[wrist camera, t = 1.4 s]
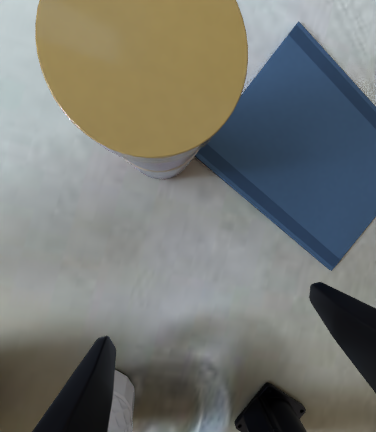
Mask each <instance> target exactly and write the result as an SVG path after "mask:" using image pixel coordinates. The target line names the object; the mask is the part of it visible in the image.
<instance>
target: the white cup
mask: <svg viewBox="0 0 376 432" xmlns="http://www.w3.org/2000/svg"><path fill="white" fill-rule="evenodd" d="M134 402H135V396H134V386H133V385H132V383H131V381H130V380H129V378H128V377H127V376H126V375H124V374H122V373H120V372H119V371H117V370H115V374H114V389H113V399H112V406H111V412H110V419H109V425H108V432H132V428H133V420H132V418H133V410H134Z"/></svg>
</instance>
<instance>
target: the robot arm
mask: <svg viewBox="0 0 376 432" xmlns="http://www.w3.org/2000/svg"><path fill="white" fill-rule="evenodd" d="M309 298H310V301H311V303H312V305H313V306H314V308H315V310H316V311H317V313H318V314H319V316H320V317H321V319H322V321H323V322H324V324H325V325H326V327H327V328H328V330H329V332H330V333H331V335H332V336H333V338H334V339H335V340H336V342H337V343H338V344H339V346H340V347H341V348H342V350H343V351H344V352H345V354H346V355H347V356H348V358H349V359H350V360H351V361H352V363H353V364H354V365H355V367H356V368H357V369H358V371H359V372H360V373H361V375H362V376H363V377H364V378H365V380H366V381H367V382H368V384H369V385H370V386H371V388H372V389H373V390H374V392H375V393H376V308H373V307H371V306H369V305H367V304H365V303H363V302H361V301H359V300H357V299H355V298H353V297H351V296H349V295H347V294H345V293H343V292H340V291H338V290H336V289H334V288H332V287H330V286H328V285H326V284H324V283H321V282H318V283H314V284H312V285H311V286H310V295H309ZM115 359H116V349H115V346H114V344H113V342H112V341H111V339H110V337H109V336H104V337H100V338H98V339H97V340H96V341H95V343H94V344H93V346H92V347H91V349H90V350H89V351H88V353H87V354H86V356H85V357H84V359H83V360H82V361H81V363H80V364H79V366H78V367H77V369H76V370H75V371H74V373H73V374H72V376H71V377H70V379H69V380H68V381H67V383H66V384H65V386H64V387H63V388H62V390H61V391H60V393H59V394H58V396H57V397H56V398H55V400H54V401H53V403H52V404H51V406H50V407H49V408H48V410H47V411H46V413H45V414H44V416H43V417H42V418H41V420H40V421H39V423H38V424H37V426H36V427H35V428H34V430H33V431H32V432H108V425H109V419H110V412H111V406H112V399H113V389H114V374H115ZM305 411H306V410H305V408H304V406H303V405H302V404H301V403H299V402H298V401H296V400H295V399H293V398H292V397H290V396H289V395H287V394H285V393H284V392H282V391H281V390H279V389H278V388H276V387H275V386H273V385H272V384H270V383H266V384H265V385H264V386H263V387H262V388H261V389H260V391H259V392H258V393H257V394H256V396H255V397H254V398H253V399H252V401H251V402H250V403H249V404H248V405H247V407H246V408H245V409H244V410H243V412H242V413H241V414H240V415H239V416H238V418H237V419H236V420H235V426H236V429H237V430H239V431H241V432H307V431H306V429H305V428H304V426H303V424H302V423H301V421H300V418H301V417H302V415H303V414H304V413H305Z"/></svg>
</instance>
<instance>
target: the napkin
mask: <svg viewBox="0 0 376 432" xmlns="http://www.w3.org/2000/svg"><path fill="white" fill-rule="evenodd" d="M195 157H197V158H198V159H199V160H200V161H201V162H202V163H204V164H205V165H206V166H207V167H208V168H210V169H211V170H212V171H213V172H214V173H215V174H217V175H218V176H219V177H220V178H221V179H223V180H224V181H225V182H226V183H227V184H229V185H230V186H231V187H232V188H233V189H234V190H236V191H237V192H238V193H239V194H240V195H242V196H243V197H244V198H245V199H246V200H247V201H249V202H250V203H251V204H252V205H253V206H255V207H256V208H257V209H258V210H259V211H260V212H262V213H263V214H264V215H265V216H266V217H268V218H269V219H270V220H271V221H272V222H273V223H275V224H276V225H277V226H278V227H279V228H281V229H282V230H283V231H284V232H285V233H286V234H288V235H289V236H290V237H291V238H292V239H294V240H295V241H296V242H297V243H298V244H300V245H301V246H302V247H303V248H304V249H305V250H307V251H308V252H309V253H310V254H311V255H313V256H314V257H315V258H316V259H317V260H318V261H320V262H321V263H322V264H323V265H324V266H326V267H327V268H328V269H329V270H331V271H332V270H333V268H334V267H335V266H336V265H337V264H338V263H339V261H340V260H341V259H342V257H343V256H344V255H345V254H346V252H347V251H348V250H349V249H350V248H351V246H352V245H353V244H354V243H355V241H356V240H357V239H358V238H359V236H360V235H361V234H362V233H363V231H364V230H365V229H366V228H367V227H368V225H369V224H370V223H371V222H372V220H373V219H374V218H375V217H376V106H375V105H374V104H373V103H372V102H371V101H370V100H369V99H368V98H367V96H366V95H365V94H364V93H363V92H362V91H361V90H360V89H359V88H358V86H357V85H356V84H355V83H354V82H353V81H352V80H351V79H350V78H349V76H348V75H347V74H346V73H345V72H344V71H343V70H342V69H341V68H340V67H339V65H338V64H337V63H336V62H335V61H334V60H333V59H332V58H331V57H330V55H329V54H328V53H327V52H326V51H325V50H324V49H323V48H322V47H321V45H320V44H319V43H318V42H317V41H316V40H315V39H314V38H313V37H312V35H311V34H310V33H309V32H308V31H307V30H306V29H305V28H304V27H303V25H302V24H301V23H300V22H298V23H297V24H296V26H295V27H294V28H293V29H292V31H291V32H290V33H289V35H288V36H287V37H286V38H285V40H284V41H283V42H282V44H281V45H280V46H279V47H278V49H277V50H276V51H275V53H274V54H273V55H272V57H271V58H270V59H269V60H268V62H267V63H266V64H265V66H264V67H263V68H262V69H261V71H260V72H259V73H258V75H257V76H256V77H255V78H254V80H253V81H252V82H251V84H250V85H249V86H248V87H247V89H246V90H245V91H244V93H243V94H242V95H241V96H240V99H239V101H238V103H237V105H236V107H235V109H234V111H233V113H232V114H231V116H230V117H229V119H228V120H227V121H226V123H225V124H224V125H223V126H222V128H221V129H220V130H219V131H218V132H217V134H216V135H215V136H214V137H213V138H212V139H211V140H210V141H209V142H208V143H207V144H206V145H205V146H204V147H202V148H201V149H200V150H199V151H198V152H197V154H196V155H195Z"/></svg>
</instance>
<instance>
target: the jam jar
mask: <svg viewBox="0 0 376 432" xmlns="http://www.w3.org/2000/svg"><path fill="white" fill-rule="evenodd" d="M36 46H37V54H38V58H39V62H40V66H41V70H42V73H43V76H44V78H45V81H46V83H47V86H48V88H49V90H50V91H51V93H52V95H53V97H54V99H55V101H56V102H57V103H58V105H59V106H60V108H61V109H62V111H63V112H64V113H65V114H66V116H67V117H68V118H69V119H70V120H71V121H72V122H73V123H74V124H75V125H76V126H77V127H78V128H79V129H80V130H81V131H83V132H84V133H85V134H86V135H87V136H89V137H90V138H91V139H93V140H94V141H96V142H97V143H98V144H100V145H101V146H103V147H104V148H106V149H107V150H108V151H110V152H112V153H114V154H116V155H118V156H120V157H123V158H124V159H125V160H126V161H127V162H128V163H130V164H131V165H132V166H133V167H134V168H136V169H137V170H139V171H140V172H142V173H143V174H144V175H146V176H148V177H151V178H154V179H169V178H172V177H174V176H176V175H178V174H179V173H181V172H182V171H183V170H184V169H185V167H186V166H187V165H188V164H189V163H190V162H191V160H192V159H193V158H194V156H195V155H196V154H197V152H198V151H199V150H200V149H201V148H202V147H204V146H205V145H206V144H207V143H208V142H209V141H210V140H211V139H212V138H213V137H214V136H215V135H216V134H217V132H218V131H219V130H220V129H221V128H222V126H223V125H224V124H225V123H226V121H227V120H228V119H229V117H230V116H231V114H232V113H233V111H234V109H235V107H236V105H237V103H238V101H239V99H240V96H241V93H242V90H243V87H244V83H245V79H246V74H247V64H248V44H247V36H246V30H245V26H244V22H243V18H242V15H241V12H240V9H239V7H238V4H237V2H236V0H40V1H39V5H38V8H37V16H36Z"/></svg>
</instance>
